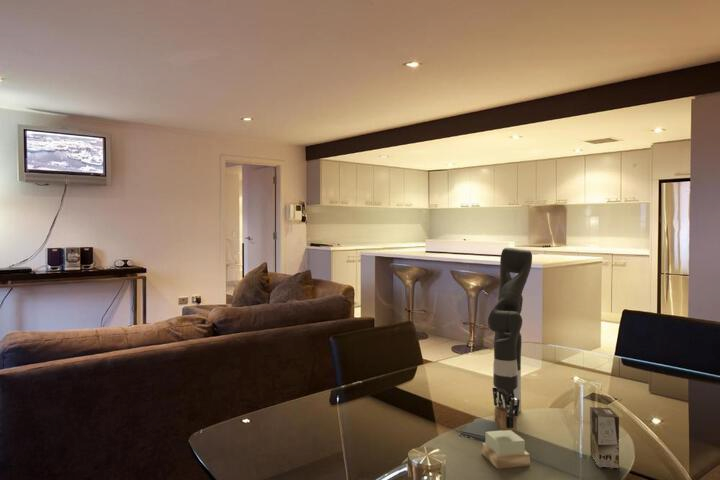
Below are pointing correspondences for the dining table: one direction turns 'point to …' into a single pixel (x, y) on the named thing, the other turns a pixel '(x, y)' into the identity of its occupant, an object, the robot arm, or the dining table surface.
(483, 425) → the dark grey book
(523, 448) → the tower top
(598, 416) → the coffee box
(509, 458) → the tower base
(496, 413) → the walnut block
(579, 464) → the dining table surface
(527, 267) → the robot arm
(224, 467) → the dining table surface
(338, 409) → the dining table surface
